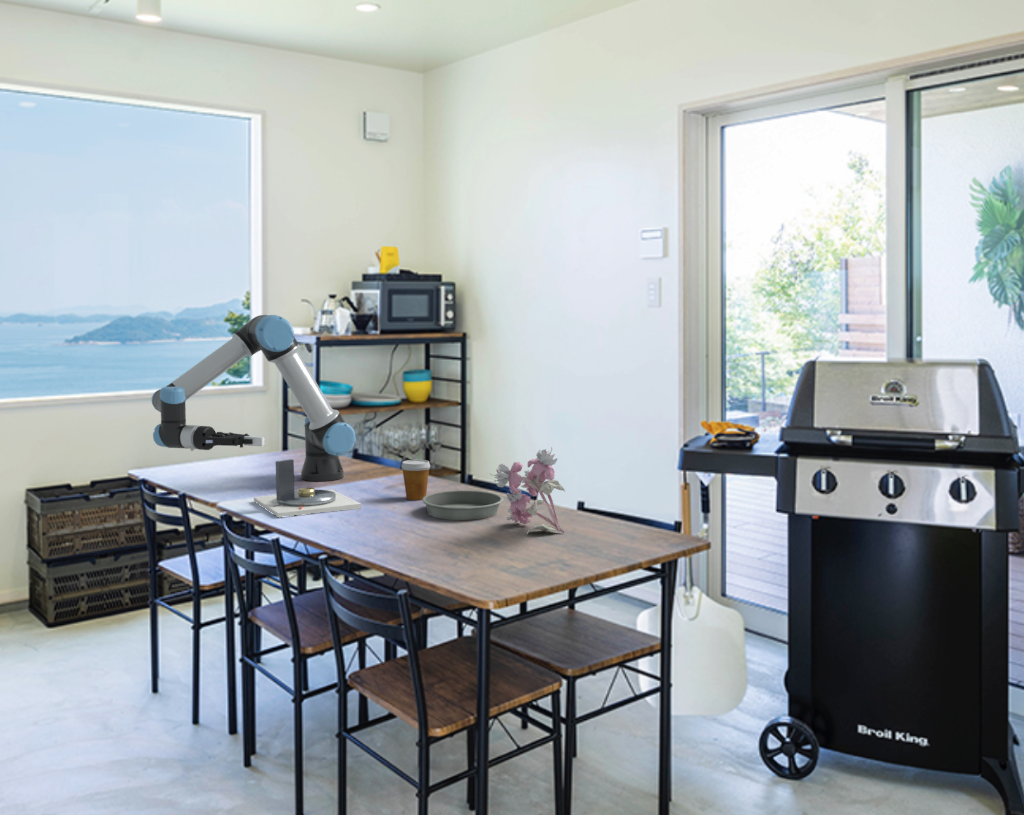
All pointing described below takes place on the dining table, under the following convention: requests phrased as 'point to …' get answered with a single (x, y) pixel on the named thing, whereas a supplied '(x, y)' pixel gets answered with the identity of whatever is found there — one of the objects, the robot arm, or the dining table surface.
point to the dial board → (288, 510)
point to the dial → (301, 495)
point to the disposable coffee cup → (415, 478)
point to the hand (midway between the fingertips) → (263, 441)
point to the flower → (531, 489)
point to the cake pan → (462, 504)
